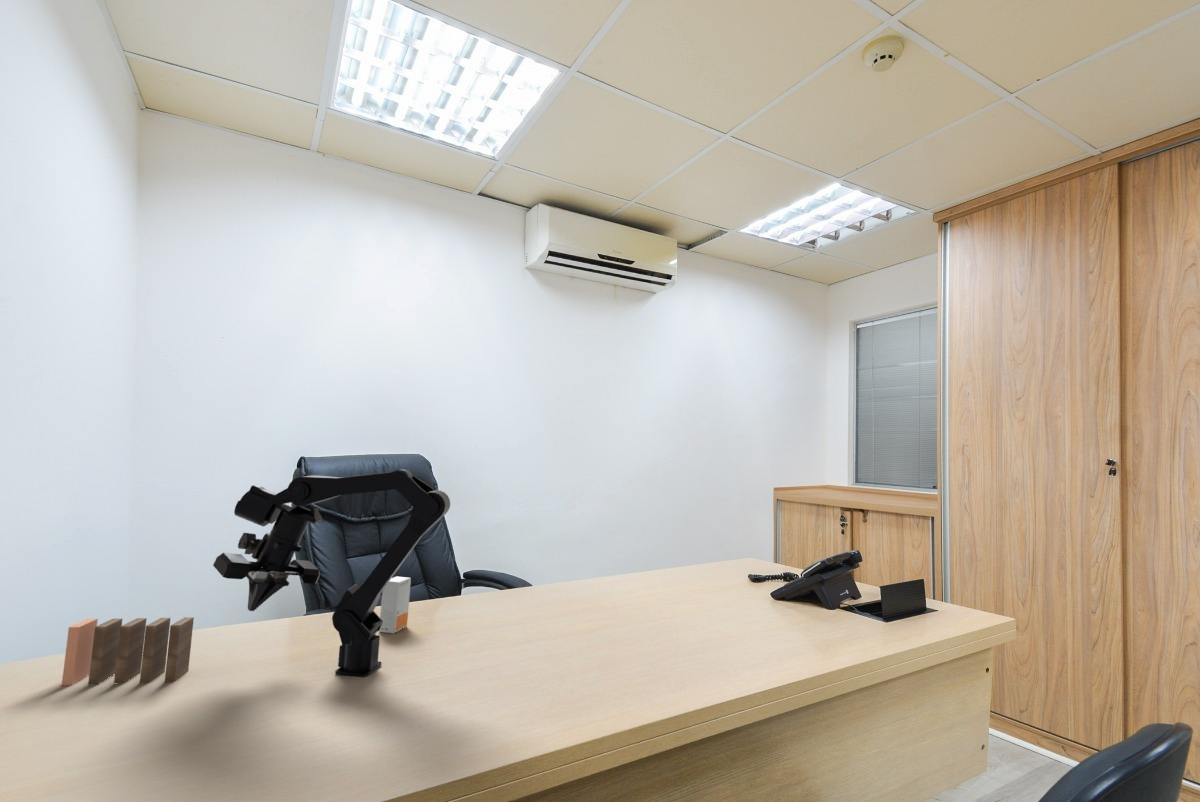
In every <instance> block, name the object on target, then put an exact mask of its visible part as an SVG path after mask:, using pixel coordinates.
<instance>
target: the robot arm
mask: <svg viewBox="0 0 1200 802" xmlns="http://www.w3.org/2000/svg"><path fill="white" fill-rule="evenodd" d="M391 490H395V491H396V492H398V493H399V494H401V496H402V497H403V498H404V499H405V500H406V501H407V502H408V503H409V504H410V505H411V506H413V509H412V511H411V513H410V514H409V517H408V519H407V520H408V521H407V523H406V525H405V527H404V529H403V530H402V531H401V532H400V534H399V536H397V538H396V540H394V542H393V543H392V545H391V546H390V547H389V549H388V550H387V551H386V553H385V554H384V555H383V557H381V559H380V561H379V562H378V563H377V565H376V566H375V567H374V568H373V570H372V571H371V573H370V574H369V576H367V578H366V580H365V581H364V582H363V583H362V584H361V586H360V585H359V584H358V583H355V584H354V585H352V586H351V587H350V588H347V589H346V591H345V593H344V594H343V596H342V598H341V599H340V601H339V602H338V603H337V604H336V605H334V606H333V607H332V608H333V609H334V611H333V614H332V617H331V620H332V625H333V627H334V630H336V632H338V635H339V638H340V641H341V644H340V646H339V651H338V660H337V662H338V663H337V664H338V665H337V666H338V668H336V670H335V672H334V673H335V674H336V675H347V676H359V677H367V676H368V675H370V674H371V673H373V672H374V671H375V670H377V669H378V668H380V667H381V666H382V665H383V664H382V661H379V653H380V652H379V651H380V650H379V649H380V637H381V636H380V635H377V634H376V633H378V632H379V630H380V628H381V625H382V623H383V621H382V619H381V618H380V616H379V615H378V614H377V613H376V612H375V609H376V607H377V604H378V603H379V600H380V598H381V596H382V590H383V589H384V588H385V586H386V585H387V584H388V582H389V581H390V579H391V578H394V575H395V574H396V572H397V571H398V570H399V569H400V567H401V566H402V564H403V563H404V562H405V560H406V559H407V557H409V555H410V554H411V552H412V551H413V550H414V548H415V547H416V546H417V544H418V543H419V541H420V540H421V538H422V537H423V536H424V535H425V534H426V533H427V532H429V530H430V529H431V528H433V527H434V526H435V525H436V524H437V523H438V522H439V521H441V519H442V518H443V517H444V516H445V515H447V513H448V512H449V510H450V509H451V500H450V497H449V495H448V494H447V493H446V492H444V491H442V490H438V489H437V490H435V489H434V488H433V487H431V486H430V485H428V484H427V483H426V482H424V481H423V480H422V479H419V478H418V477H417V476H415V475H414V474H413V473H412V472H411V471H410V470H408V469H404V468H403V469H397V470H394V471H391V472H390V471H387V472H380V473H378V472H377V473H371V474H361V475H352V476H343V477H342V476H341V477H340V476H339V477H338V476H330V475H305V476H299V477H296V478H295V477H294V479H292V480H291V481H290V482H289V484H288V486H287V487H286V488H285V489H282V490H281V491H279V492H278V493H276V492H273V491H271V490H269V489H267V488H265V487H263V486H261V485H259V484H254V485H251V486H250V489H249V490H248V491H247V492H244V493H245V494H244V495H242V496H241V498H240V499H239V500H237V502H236V505H235V506H234V510H233V512H234V516H236V517H238V518H241V519H244V520H246V521H248V522H251V523H253V524H255V525H258V526H261V527H266V526H267V525H270V524H273V523H274V524H273V526H272V528H271V531H270V532H269V533H268V532H266V533H265V534H264V535H263V537H262V538H257V535H256V533H253V532H252V533H250V532H243V533H242V535H241V537H240V538H239V540H238V544H237V548H238V549H239V550H240V549H241V550H245V551H244V554H245V555H251V558H253V559H254V560H256V561H250V560H247V559H246V558H245V556H244V555H243V554H241V553H240V554H239V553H232V552H231V553H229V552H221V554H219V555H218V556H217V557H216V558H215V561H214V562H213V564H212V566H213V567H214V568H215V569H216V571H217V572H218V573H219V574H220V576H222V577H223V578H225V579H230V580H231V579H232V580H233V579H234V580H242V579H243V580H244V579H245V578H246V579H247V580H248V598H247V599H248V600H247V611H249V612H254V611H256V610H257V609H258V608H259V607H260V606H261V605H262V604H263V603H265V602H266V601H268V599H270V597H272V596H273V595H275V594H276V593H278V591H280V590H281V589H282V588H284V587H289V585H290V582H289V581H288V578H289V576H300V580H301V582H302V583H303V584H311V585H315V584H317V582H318V580H319V578H320V574H321V573H320V569H319V568H318V567H317V566H316V565H315V564H313V563H312V562H311V561H310V560H301V559H293V557H294V555H295V553H296V552H297V553H299V552H301V549H302V546H301V545H300V542H301V540H302V538H303V535H304V534H305V531H306V530H307V528H308V526H309V523H312V524H315V523H318V522H322V521H323V517H322V514H320V512H319V508H318V507H317V508H313V509H309V508H307V507H304V506H308V505H312V504H318V503H320V502H324V501H328V500H332V499H334V498H337V497H340V496H346V495H356V494H357V495H358V494H363V493H372V492H383V491H391ZM290 503H293V505H294V507H292V506H290V505H287V504H290ZM292 559H293V560H292Z"/></svg>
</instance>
